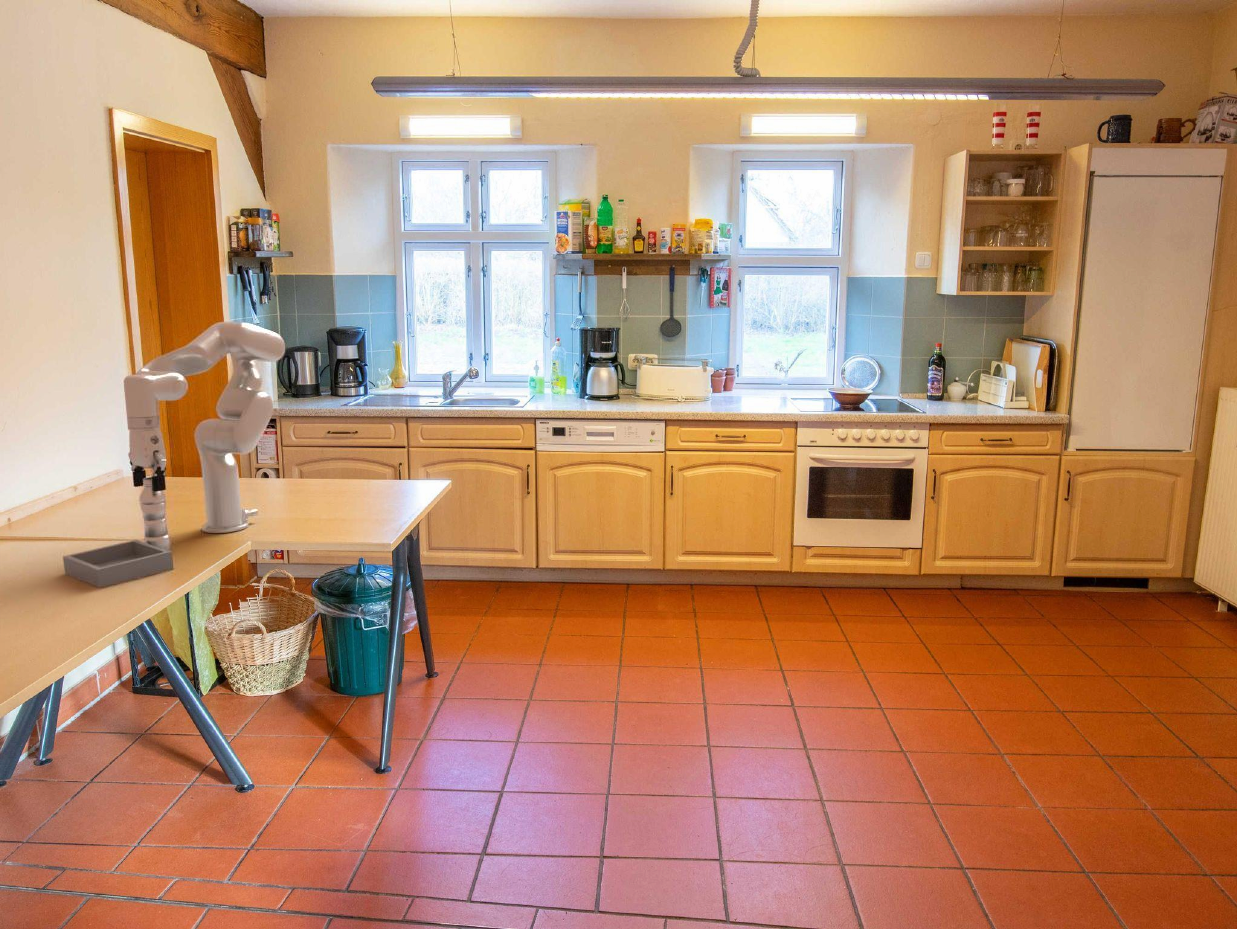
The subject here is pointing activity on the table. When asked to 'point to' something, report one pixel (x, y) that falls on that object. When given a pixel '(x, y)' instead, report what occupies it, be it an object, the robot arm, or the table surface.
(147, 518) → the plastic bottle
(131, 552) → the bin
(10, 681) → the table surface
